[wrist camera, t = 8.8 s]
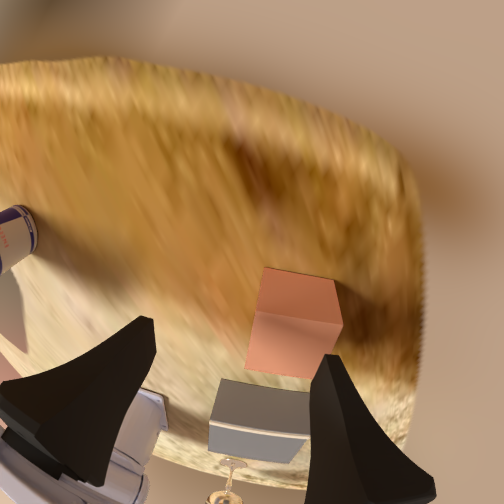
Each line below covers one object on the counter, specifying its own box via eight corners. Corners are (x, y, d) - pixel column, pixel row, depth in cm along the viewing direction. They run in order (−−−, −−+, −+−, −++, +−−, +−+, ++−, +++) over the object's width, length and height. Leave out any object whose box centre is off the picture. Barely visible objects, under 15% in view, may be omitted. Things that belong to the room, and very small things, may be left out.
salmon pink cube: (315, 332, 22) (318, 379, 17) (253, 321, 22) (244, 368, 17) (333, 280, 19) (343, 325, 15) (264, 267, 20) (256, 310, 15)
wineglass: (251, 470, 37) (241, 529, 26) (218, 466, 38) (204, 523, 27) (250, 459, 35) (238, 525, 24) (213, 454, 35) (197, 518, 24)
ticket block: (290, 428, 29) (288, 465, 24) (216, 416, 29) (207, 452, 25) (310, 393, 25) (310, 436, 21) (221, 378, 26) (209, 421, 21)
